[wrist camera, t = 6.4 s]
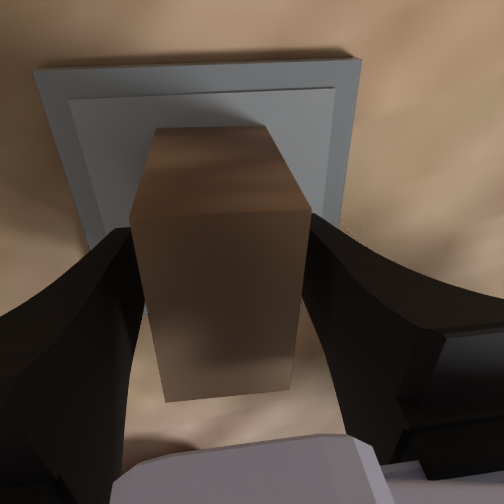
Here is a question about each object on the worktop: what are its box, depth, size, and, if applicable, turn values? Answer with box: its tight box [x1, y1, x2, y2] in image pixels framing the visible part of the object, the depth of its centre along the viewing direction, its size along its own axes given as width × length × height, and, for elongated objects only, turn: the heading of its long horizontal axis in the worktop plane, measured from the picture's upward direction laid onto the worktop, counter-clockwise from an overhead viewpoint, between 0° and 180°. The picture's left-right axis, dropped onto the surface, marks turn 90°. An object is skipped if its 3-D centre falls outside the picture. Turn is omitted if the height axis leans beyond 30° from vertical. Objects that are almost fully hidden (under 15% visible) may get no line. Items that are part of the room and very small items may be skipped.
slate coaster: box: [32, 57, 362, 315], centre depth 14 cm, size 10×10×1 cm
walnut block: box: [129, 126, 312, 403], centre depth 11 cm, size 4×6×6 cm, turn 179°
